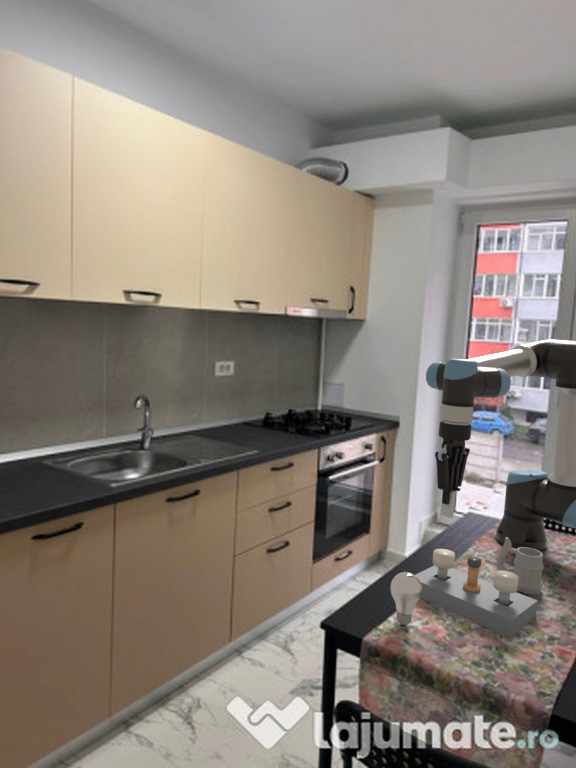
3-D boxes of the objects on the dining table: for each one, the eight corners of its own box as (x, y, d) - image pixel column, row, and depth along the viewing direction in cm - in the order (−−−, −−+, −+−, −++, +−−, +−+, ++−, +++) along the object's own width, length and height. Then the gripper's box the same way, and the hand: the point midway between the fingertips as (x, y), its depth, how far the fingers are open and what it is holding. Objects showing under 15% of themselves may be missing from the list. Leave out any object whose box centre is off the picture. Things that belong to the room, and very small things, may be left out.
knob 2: (497, 596, 135) (500, 568, 134) (519, 605, 132) (522, 576, 131) (487, 603, 132) (490, 574, 131) (509, 612, 128) (512, 582, 127)
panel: (437, 577, 152) (439, 563, 151) (536, 616, 133) (537, 600, 133) (408, 592, 142) (409, 577, 141) (509, 637, 124) (511, 620, 123)
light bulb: (384, 616, 130) (388, 566, 128) (414, 617, 130) (418, 566, 129) (391, 633, 123) (395, 580, 121) (423, 633, 123) (427, 580, 122)
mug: (537, 598, 143) (542, 552, 142) (490, 583, 150) (494, 539, 149) (545, 587, 149) (550, 543, 148) (499, 574, 156) (503, 531, 155)
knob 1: (438, 573, 147) (440, 547, 146) (456, 580, 143) (458, 553, 142) (427, 578, 143) (429, 552, 142) (445, 586, 139) (448, 558, 138)
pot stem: (468, 583, 140) (470, 554, 139) (483, 589, 137) (486, 560, 136) (459, 588, 137) (462, 558, 136) (475, 594, 134) (478, 564, 134)
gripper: (455, 417, 146) (446, 507, 148) (427, 421, 137) (419, 516, 139) (482, 422, 140) (473, 515, 143) (456, 427, 131) (446, 525, 134)
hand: (446, 515), depth 141 cm, fingers closed
